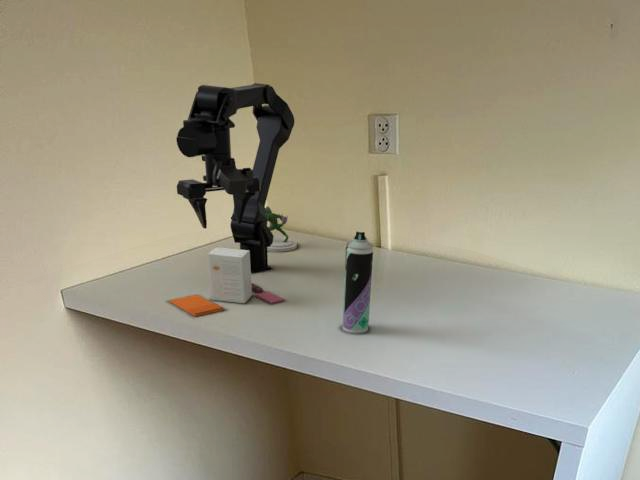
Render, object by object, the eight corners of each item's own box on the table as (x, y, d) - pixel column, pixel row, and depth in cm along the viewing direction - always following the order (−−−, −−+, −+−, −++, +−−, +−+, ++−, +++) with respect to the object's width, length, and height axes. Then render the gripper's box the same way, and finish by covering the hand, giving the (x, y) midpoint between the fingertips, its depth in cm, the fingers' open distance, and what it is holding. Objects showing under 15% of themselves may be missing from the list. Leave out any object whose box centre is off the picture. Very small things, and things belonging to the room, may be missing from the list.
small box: (252, 296, 157) (250, 249, 151) (245, 304, 152) (243, 256, 146) (219, 292, 158) (216, 246, 152) (210, 300, 153) (207, 253, 147)
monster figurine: (274, 237, 199) (273, 200, 193) (305, 246, 194) (305, 208, 188) (245, 245, 191) (244, 207, 185) (277, 254, 186) (277, 215, 180)
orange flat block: (197, 295, 155) (197, 293, 154) (223, 310, 148) (223, 307, 148) (169, 301, 151) (169, 299, 150) (195, 316, 144) (195, 313, 144)
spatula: (230, 283, 163) (229, 277, 162) (242, 281, 165) (242, 274, 164) (271, 304, 153) (271, 297, 152) (283, 301, 155) (283, 294, 154)
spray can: (349, 335, 141) (354, 236, 129) (338, 325, 145) (341, 229, 133) (372, 331, 143) (379, 234, 132) (360, 322, 147) (366, 227, 135)
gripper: (199, 160, 138) (205, 239, 147) (274, 155, 149) (275, 228, 158) (172, 152, 145) (179, 227, 154) (245, 147, 156) (248, 218, 164)
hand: (221, 225), depth 157 cm, fingers open, 9 cm apart
